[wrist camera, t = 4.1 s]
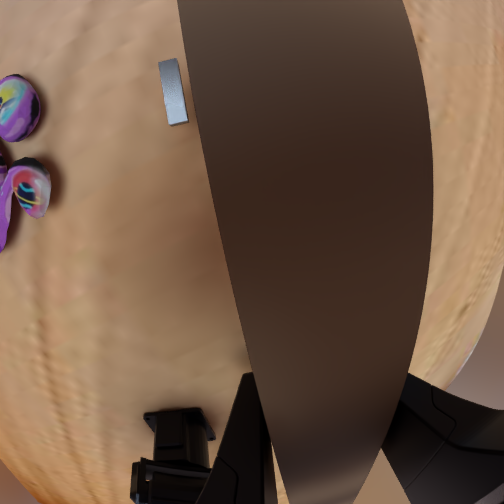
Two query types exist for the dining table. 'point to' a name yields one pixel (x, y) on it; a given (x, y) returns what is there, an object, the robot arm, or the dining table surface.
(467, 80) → the dining table surface
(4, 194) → the decorative sculpture
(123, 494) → the dining table surface
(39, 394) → the dining table surface
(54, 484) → the dining table surface
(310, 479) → the rail
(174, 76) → the grey block
